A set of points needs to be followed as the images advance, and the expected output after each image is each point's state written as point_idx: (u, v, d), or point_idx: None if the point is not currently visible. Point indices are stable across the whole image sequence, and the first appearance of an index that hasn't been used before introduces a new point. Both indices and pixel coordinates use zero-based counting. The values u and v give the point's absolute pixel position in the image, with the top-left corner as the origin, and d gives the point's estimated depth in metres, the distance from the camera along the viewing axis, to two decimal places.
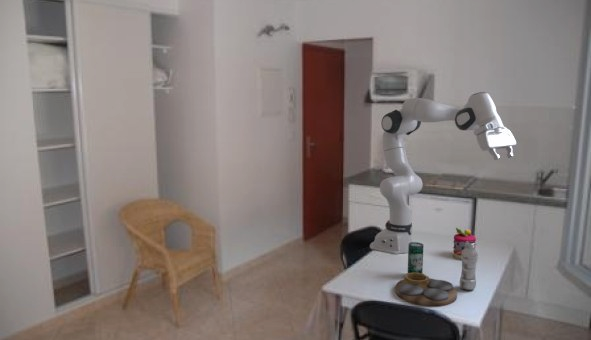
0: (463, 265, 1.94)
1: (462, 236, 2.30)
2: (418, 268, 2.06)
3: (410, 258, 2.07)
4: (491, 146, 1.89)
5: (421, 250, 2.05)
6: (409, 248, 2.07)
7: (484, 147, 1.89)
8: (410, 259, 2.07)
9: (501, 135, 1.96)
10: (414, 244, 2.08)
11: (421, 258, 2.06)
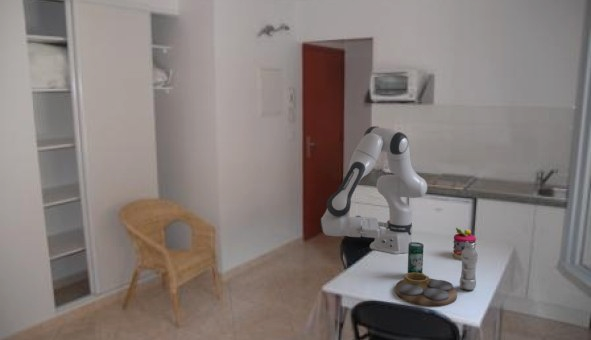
0: (463, 265, 1.94)
1: (462, 236, 2.30)
2: (418, 268, 2.06)
3: (410, 258, 2.07)
4: None
5: (421, 250, 2.05)
6: (409, 248, 2.07)
7: None
8: (410, 259, 2.07)
9: None
10: (414, 244, 2.08)
11: (421, 258, 2.06)
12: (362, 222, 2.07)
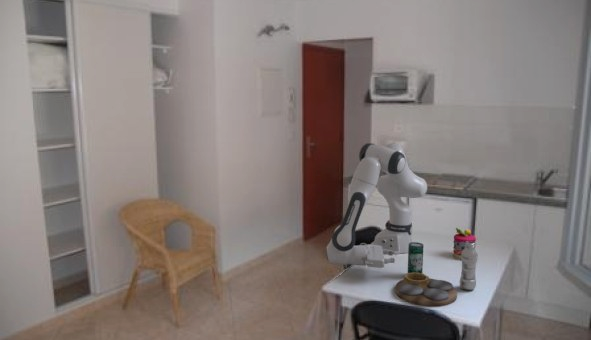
0: (463, 265, 1.94)
1: (462, 236, 2.30)
2: (418, 268, 2.06)
3: (410, 258, 2.07)
4: None
5: (421, 250, 2.05)
6: (409, 248, 2.07)
7: None
8: (410, 259, 2.07)
9: None
10: (414, 244, 2.08)
11: (421, 258, 2.06)
12: (367, 251, 2.09)
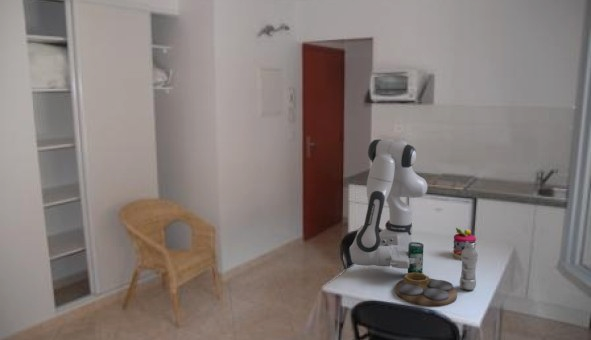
0: (463, 265, 1.94)
1: (462, 236, 2.30)
2: (418, 268, 2.06)
3: None
4: None
5: (421, 250, 2.05)
6: (409, 248, 2.07)
7: None
8: None
9: None
10: (414, 244, 2.08)
11: (421, 258, 2.06)
12: (391, 252, 2.07)
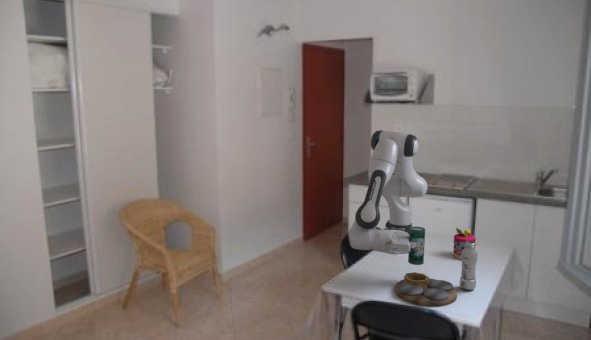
0: (463, 265, 1.94)
1: (462, 236, 2.30)
2: (419, 253, 1.98)
3: None
4: None
5: (423, 234, 1.97)
6: (410, 232, 1.98)
7: None
8: None
9: None
10: (415, 228, 2.00)
11: (422, 243, 1.98)
12: (391, 235, 1.99)
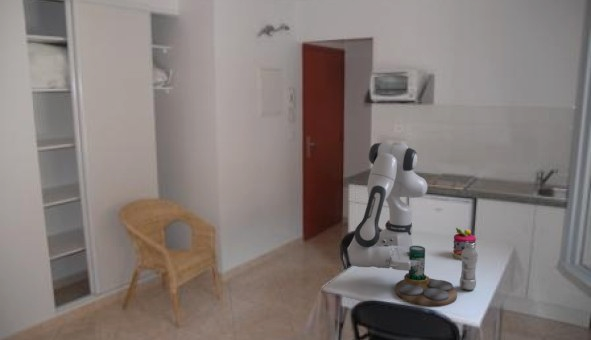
0: (463, 265, 1.94)
1: (462, 236, 2.30)
2: (419, 273, 1.95)
3: None
4: None
5: (423, 254, 1.94)
6: (410, 252, 1.95)
7: None
8: None
9: None
10: (415, 248, 1.97)
11: (423, 262, 1.95)
12: (391, 253, 1.96)
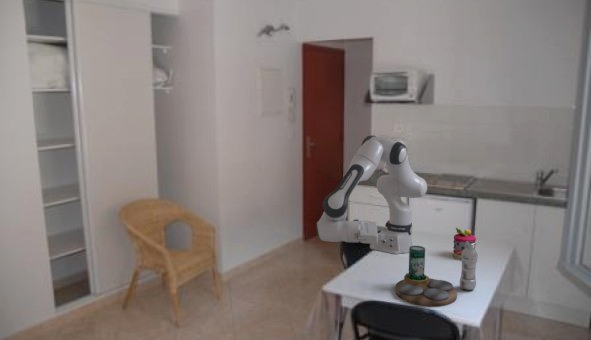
0: (463, 265, 1.94)
1: (462, 236, 2.30)
2: (419, 273, 1.95)
3: (411, 262, 1.95)
4: None
5: (423, 254, 1.94)
6: (410, 252, 1.95)
7: None
8: (411, 264, 1.95)
9: None
10: (415, 248, 1.97)
11: (423, 262, 1.95)
12: (360, 227, 1.96)
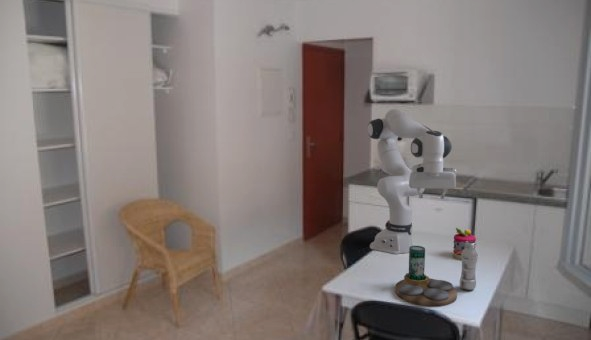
0: (463, 265, 1.94)
1: (462, 236, 2.30)
2: (419, 273, 1.95)
3: (411, 262, 1.95)
4: (413, 187, 2.10)
5: (423, 254, 1.94)
6: (410, 252, 1.95)
7: (409, 185, 2.12)
8: (411, 263, 1.96)
9: (437, 178, 2.08)
10: (415, 248, 1.97)
11: (423, 262, 1.95)
12: None
